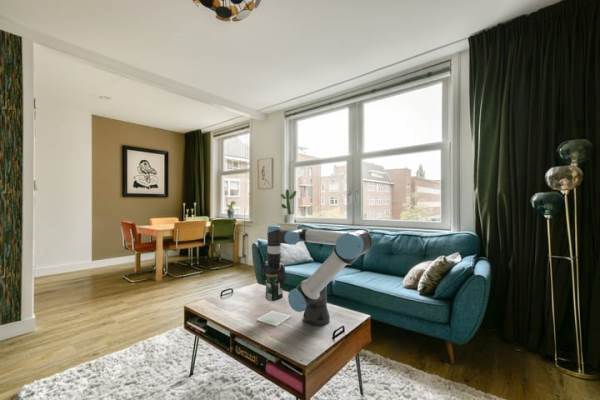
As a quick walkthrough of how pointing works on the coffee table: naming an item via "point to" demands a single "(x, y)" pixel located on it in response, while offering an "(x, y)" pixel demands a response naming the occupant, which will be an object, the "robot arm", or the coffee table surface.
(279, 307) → the coffee table surface
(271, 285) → the coffee jar
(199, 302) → the coffee table surface
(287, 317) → the plate
